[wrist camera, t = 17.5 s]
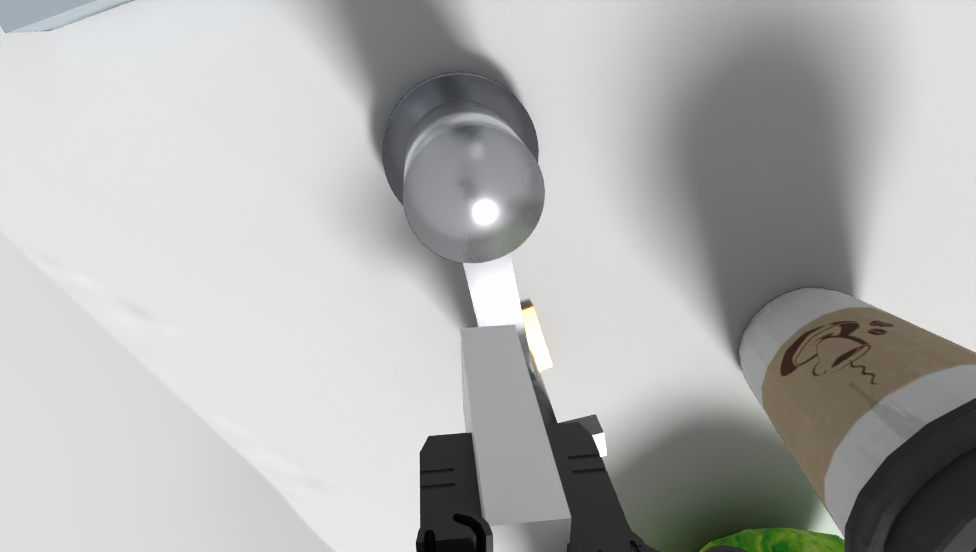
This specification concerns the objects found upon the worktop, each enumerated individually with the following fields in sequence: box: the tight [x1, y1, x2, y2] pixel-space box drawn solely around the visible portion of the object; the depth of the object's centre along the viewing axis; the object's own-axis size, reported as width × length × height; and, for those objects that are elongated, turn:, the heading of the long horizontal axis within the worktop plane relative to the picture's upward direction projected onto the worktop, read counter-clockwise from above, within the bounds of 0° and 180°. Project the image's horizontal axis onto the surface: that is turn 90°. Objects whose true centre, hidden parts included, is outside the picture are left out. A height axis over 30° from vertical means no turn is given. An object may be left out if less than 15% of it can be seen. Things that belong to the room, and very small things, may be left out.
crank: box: [403, 100, 607, 457], centre depth 25 cm, size 15×6×8 cm, turn 12°
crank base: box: [383, 72, 552, 371], centre depth 29 cm, size 16×7×1 cm, turn 18°
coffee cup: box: [739, 288, 976, 552], centre depth 27 cm, size 11×11×15 cm
